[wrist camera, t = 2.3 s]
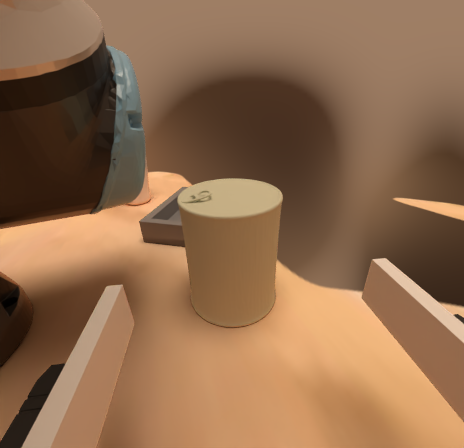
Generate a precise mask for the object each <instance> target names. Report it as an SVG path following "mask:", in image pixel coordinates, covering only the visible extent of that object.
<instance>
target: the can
mask: <svg viewBox="0 0 464 448" xmlns="http://www.w3.org/2000/svg"><path fill="white" fill-rule="evenodd" d="M282 200H283V196H282V193H281V192H280V191H279V189H277V188H276V187H274V186H272V185H270V184H267V183H264V182H260V181H256V180H249V179H218V180H212V181H206V182H202V183H198V184H195V185H193V186H190V187H188V188H186V189H185V190H183V191H182V192H181V193H180V194H179V196H178V199H177V203H178V206H179V211H180V216H181V222H182V229H183V235H184V241H185V248H186V256H187V263H188V270H189V277H190V285H191V302H192V305H193V308H194V309H195V311H196V312H197V313H198V315H199V316H201V317H202V318H203V319H204V320H206V321H208V322H210V323H212V324H215V325H218V326H223V327H242V326H246V325H250V324H252V323H255V322H257V321H259V320H260V319H262V318H263V317H265V316H266V315H267V314H268V313H269V312H270V310H271V309H272V307H273V305H274V302H275V297H276V292H275V274H276V260H277V247H278V235H279V224H280V212H281V204H282Z"/></svg>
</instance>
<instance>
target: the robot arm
mask: <svg viewBox="0 0 464 448" xmlns="http://www.w3.org/2000/svg"><path fill="white" fill-rule="evenodd" d="M141 121H142V110H141V99H140V93H139V89H138V83H137V79H136V75H135V72H134V69H133V66H132V64H131V62H130V59H129V58H128V56H127V55H126V54H125V53H123V52H122V51H120V50H116V49H115V48H114V47H112V46H106V43H105V38H104V33H103V29H102V24H101V21H100V19H99V17H98V16H97V14H96V13H95V12H94V11H93V9H91V7H90V6H89V5H88V4H87V3H85V2H84V1H83V0H0V229H3V228H9V227H15V226H21V225H27V224H32V223H38V222H44V221H50V220H56V219H62V218H67V217H73V216H79V215H85V214H96V213H98V212H100V211H101V210H104V209H108V208H112V207H116V206H120V205H124V204H128V203H130V202H132V201H133V200H135V199H136V198H137V197H138V195H139V194H140V192H141V190H142V188H143V184H144V178H145V135H144V129H143V127H142V124H141ZM362 299H363V300H364V301H365V303H366V304H367V305H368V306H369V307H370V309H371V310H372V311H373V312H374V314H375V315H376V316H377V317H378V318H379V320H380V321H381V322H382V323H383V324H384V326H385V327H386V328H387V329H388V331H389V332H390V333H391V334H392V335H393V337H394V338H395V339H396V340H397V341H398V343H399V344H400V345H401V346H402V348H403V349H404V350H405V351H406V352H407V354H408V355H409V356H410V357H411V358H412V360H413V361H414V362H415V363H416V365H417V366H418V367H419V368H420V369H421V371H422V372H423V373H424V374H425V375H426V377H427V378H428V379H429V380H430V382H431V383H432V384H433V385H434V386H435V388H436V389H437V390H438V391H439V392H440V394H441V395H442V396H443V397H444V399H445V400H446V401H447V402H448V403H449V405H450V406H451V407H452V408H453V409H454V411H455V412H456V413H457V414H458V416H459V417H460V418H461V419H462V420H463V422H464V318H463V317H462V316H460V315H458V314H455V315H453V314H451V313H450V312H449V311H448V310H447V309H445V308H444V307H443V306H442V305H441V304H439V303H438V302H437V301H436V300H435V299H433V298H432V297H431V296H430V295H429V294H427V293H426V292H425V291H424V290H423V289H422V288H420V287H419V286H418V285H417V284H416V283H414V282H413V281H412V280H411V279H410V278H408V277H407V276H406V275H405V274H403V273H402V272H401V271H400V270H399V269H398V268H396V267H395V266H394V265H393V264H392V263H390V262H389V261H388V260H387V259H386V258H383V259H373V260H372V262H371V266H370V269H369V273H368V276H367V280H366V284H365V287H364V291H363V294H362ZM32 318H33V307H32V304H31V302H30V301H29V299H28V297H27V296H26V294H25V292H24V290H23V289H22V288H21V287H20V286H19V285H18V284H17V283H16V282H14V281H13V280H12V279H10V278H9V277H7V276H6V275H4V274H3V273H2V272H0V366H1V365H2V364H3V363H4V362H5V361H6V360H7V358H8V357H9V356H10V355H11V354H12V353H13V352H14V350H15V349H16V348H17V347H18V345H19V344H20V343H21V341H22V340H23V338H24V336H25V335H26V333H27V331H28V329H29V327H30V325H31V322H32ZM134 324H135V322H134V319H133V316H132V313H131V310H130V306H129V303H128V300H127V297H126V294H125V291H124V287H123V284H122V285H112V286H106V288H105V290H104V292H103V294H102V296H101V298H100V299H99V301H98V303H97V305H96V307H95V309H94V311H93V313H92V315H91V317H90V318H89V320H88V322H87V324H86V326H85V328H84V330H83V332H82V334H81V336H80V337H79V339H78V341H77V343H76V345H75V347H74V349H73V351H72V353H71V354H70V356H69V358H68V360H67V362H66V363H65V364H57V365H51V366H50V367H49V369H48V370H47V371H46V372H45V373H44V374H43V375H42V376H41V377H40V378H39V379H38V380H37V382H36V383H35V385H34V387H33V388H32V390H31V392H30V393H29V395H28V398H27V400H25V402H24V403H23V405H22V407H21V408H20V410H19V414H17V415H16V417H15V418H14V420H13V422H12V423H11V425H10V427H9V428H8V430H7V432H6V433H5V435H4V437H3V438H2V440H1V442H0V448H97V444H98V441H99V438H100V435H101V432H102V428H103V425H104V422H105V419H106V415H107V412H108V409H109V406H110V402H111V399H112V396H113V393H114V389H115V386H116V383H117V380H118V376H119V373H120V370H121V367H122V363H123V360H124V357H125V354H126V350H127V347H128V344H129V341H130V337H131V334H132V331H133V328H134Z"/></svg>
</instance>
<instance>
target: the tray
mask: <svg viewBox="0 0 464 448" xmlns="http://www.w3.org/2000/svg"><path fill="white" fill-rule="evenodd" d="M186 188H188V187H182V188H181V189H179V190H178V191H177V192H176V193H174V194H173V195H172V196H171V197H169V198H168V199H167V200H166V201H164V202H163V203H162V204H161V205H159V206H158V207H157V208H156V209H154V210H153V211H152V212H151V213H149V214H148V215H147V216H145V217H144V218H143V219H142V220H140V221H139V223H140V227H141V231H142V235H143V240H144V242H148V243H157V244H165V245H174V246H182V247H185V241H184V235H183V229H182V222H181V216H180V211H179V206H178V203H177V199H178V196H179V194H180V193H181V192H182V191H183V190H185V189H186Z"/></svg>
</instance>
